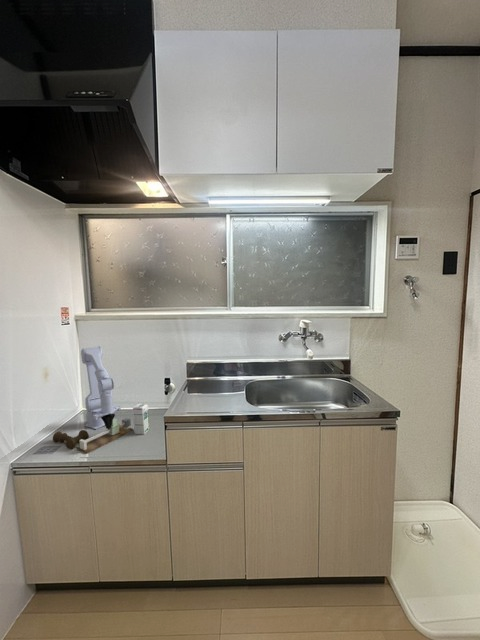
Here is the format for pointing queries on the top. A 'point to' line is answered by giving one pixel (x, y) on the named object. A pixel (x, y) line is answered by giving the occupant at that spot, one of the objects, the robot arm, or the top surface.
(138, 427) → the syrup box
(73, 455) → the top surface
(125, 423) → the linear slide rail
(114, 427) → the sleeve
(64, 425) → the top surface
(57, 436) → the kendama
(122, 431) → the board
